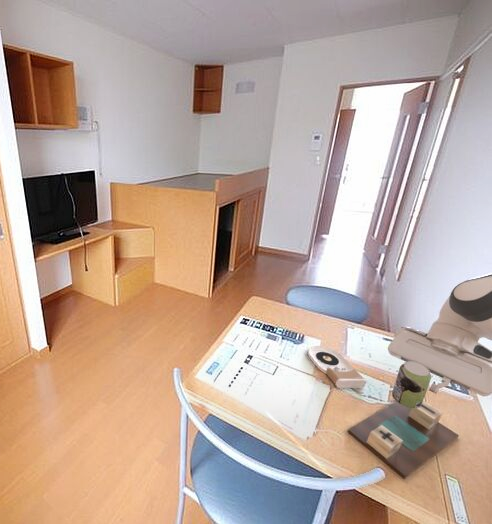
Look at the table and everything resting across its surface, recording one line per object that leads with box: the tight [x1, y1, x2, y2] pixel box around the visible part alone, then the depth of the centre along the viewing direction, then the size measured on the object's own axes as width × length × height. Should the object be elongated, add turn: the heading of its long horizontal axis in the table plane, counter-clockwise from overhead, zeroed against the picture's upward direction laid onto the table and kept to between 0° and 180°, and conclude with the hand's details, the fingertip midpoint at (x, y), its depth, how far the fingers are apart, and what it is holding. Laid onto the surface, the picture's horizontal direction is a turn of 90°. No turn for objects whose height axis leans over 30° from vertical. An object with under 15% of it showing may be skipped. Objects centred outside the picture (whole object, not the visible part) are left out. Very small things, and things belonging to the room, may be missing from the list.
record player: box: [307, 345, 367, 389], centre depth 109 cm, size 12×3×20 cm
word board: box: [347, 400, 460, 480], centre depth 83 cm, size 26×14×5 cm, turn 115°
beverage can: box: [391, 361, 432, 408], centre depth 79 cm, size 6×7×12 cm
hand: (424, 387), depth 77 cm, fingers closed on beverage can
